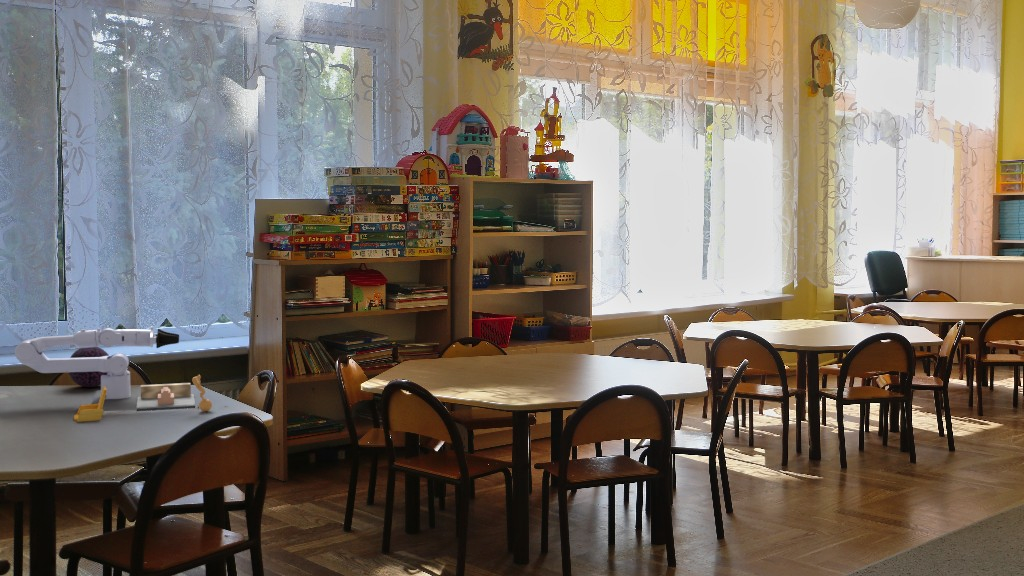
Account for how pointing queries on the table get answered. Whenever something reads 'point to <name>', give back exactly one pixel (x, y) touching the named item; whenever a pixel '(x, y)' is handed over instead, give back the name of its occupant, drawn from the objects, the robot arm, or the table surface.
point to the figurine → (205, 403)
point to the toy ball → (88, 377)
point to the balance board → (154, 403)
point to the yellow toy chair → (91, 410)
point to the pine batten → (177, 389)
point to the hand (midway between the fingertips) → (179, 338)
